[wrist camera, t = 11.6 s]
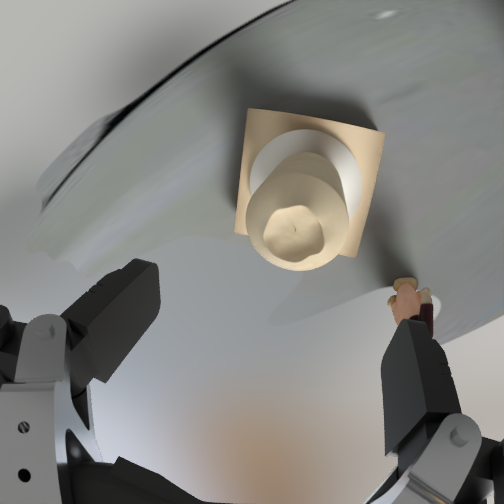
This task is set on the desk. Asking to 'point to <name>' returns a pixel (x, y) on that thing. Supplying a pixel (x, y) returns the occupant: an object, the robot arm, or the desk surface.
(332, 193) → the candle
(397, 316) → the grandmother figurine
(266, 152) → the candle stand
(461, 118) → the desk surface
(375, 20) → the desk surface
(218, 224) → the desk surface
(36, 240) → the desk surface
